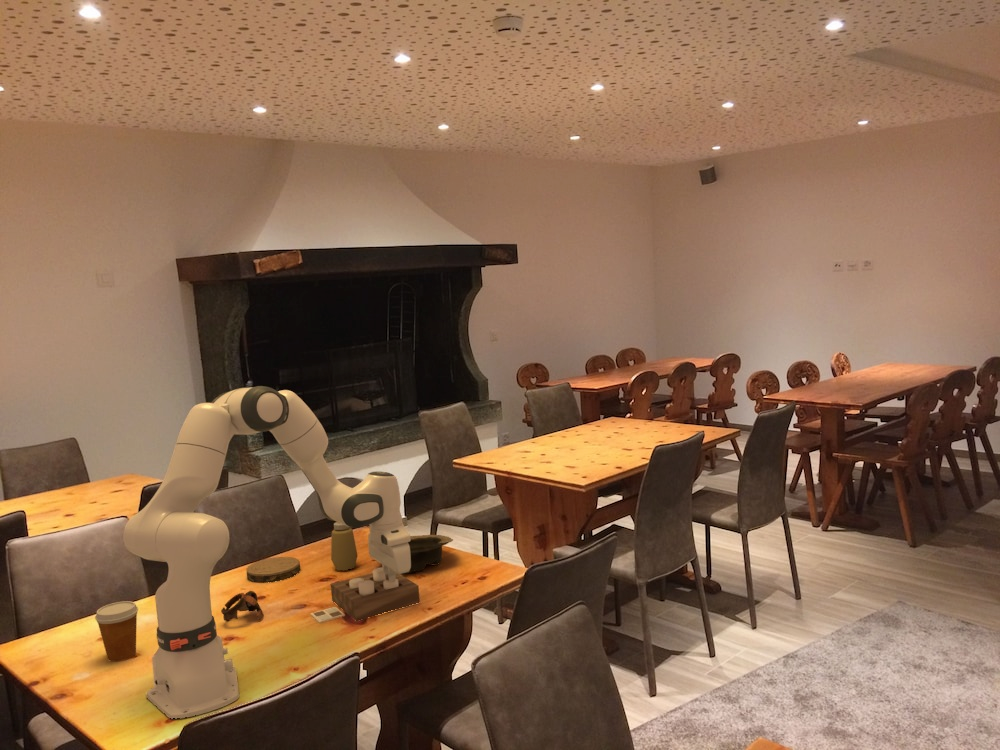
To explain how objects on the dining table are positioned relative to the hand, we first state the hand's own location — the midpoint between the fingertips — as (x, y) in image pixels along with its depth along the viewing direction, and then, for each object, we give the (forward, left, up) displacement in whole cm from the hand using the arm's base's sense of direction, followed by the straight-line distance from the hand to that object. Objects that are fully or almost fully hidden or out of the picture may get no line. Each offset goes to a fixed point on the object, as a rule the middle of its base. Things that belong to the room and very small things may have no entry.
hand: (390, 581), depth 220 cm
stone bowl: (+25, -18, -6) cm, 32 cm away
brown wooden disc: (+47, +19, -7) cm, 51 cm away
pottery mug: (+16, +35, -6) cm, 39 cm away
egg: (+7, +7, -5) cm, 11 cm away
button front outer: (0, 0, -5) cm, 5 cm away
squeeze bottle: (+36, 0, -6) cm, 37 cm away
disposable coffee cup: (+13, +66, -6) cm, 67 cm away
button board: (+3, +4, -6) cm, 8 cm away
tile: (+3, +17, -6) cm, 18 cm away
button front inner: (0, +7, -4) cm, 8 cm away
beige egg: (+7, 0, -4) cm, 8 cm away
